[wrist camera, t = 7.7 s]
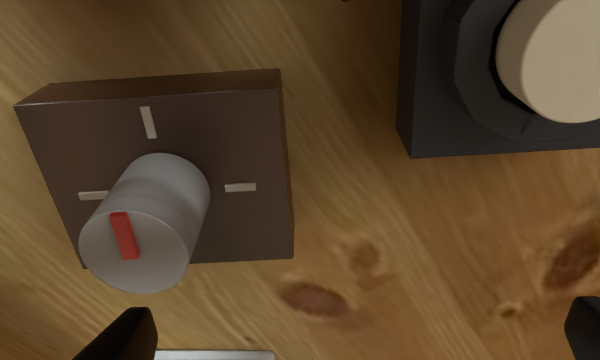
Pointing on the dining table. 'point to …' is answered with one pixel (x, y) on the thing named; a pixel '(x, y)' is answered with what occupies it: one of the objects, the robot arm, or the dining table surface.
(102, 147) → the panel
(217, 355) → the tea box
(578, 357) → the robot arm
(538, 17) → the round beige button
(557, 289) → the dining table surface
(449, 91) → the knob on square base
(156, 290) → the dial
